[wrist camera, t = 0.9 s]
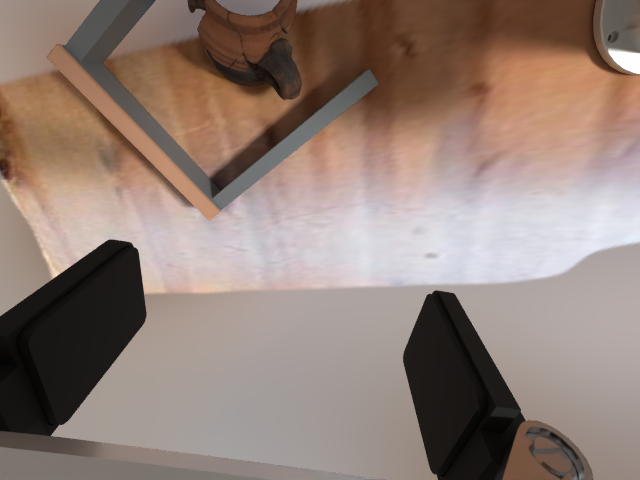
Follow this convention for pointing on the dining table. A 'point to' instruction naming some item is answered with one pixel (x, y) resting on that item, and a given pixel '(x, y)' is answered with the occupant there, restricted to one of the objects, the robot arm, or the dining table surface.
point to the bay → (146, 133)
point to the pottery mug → (251, 45)
